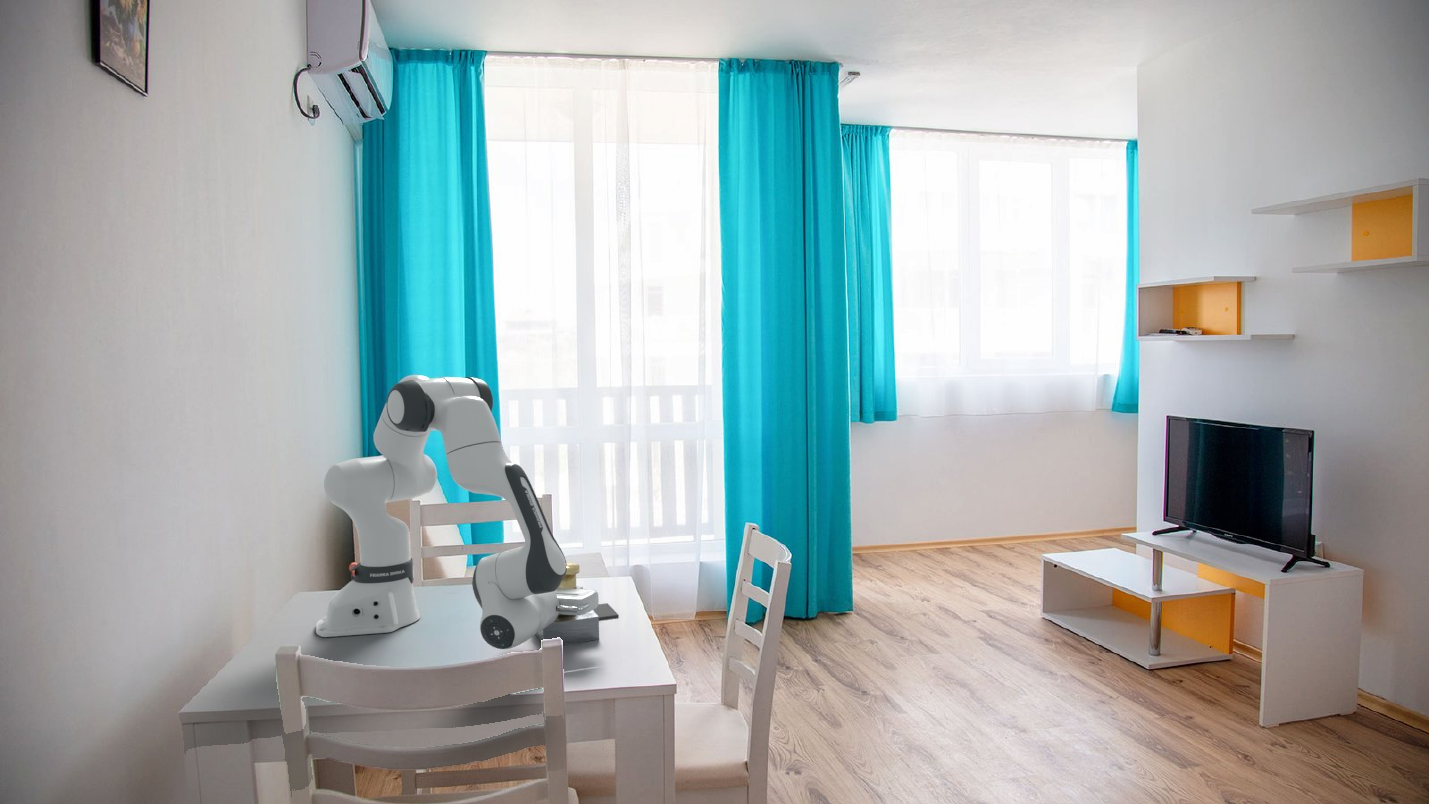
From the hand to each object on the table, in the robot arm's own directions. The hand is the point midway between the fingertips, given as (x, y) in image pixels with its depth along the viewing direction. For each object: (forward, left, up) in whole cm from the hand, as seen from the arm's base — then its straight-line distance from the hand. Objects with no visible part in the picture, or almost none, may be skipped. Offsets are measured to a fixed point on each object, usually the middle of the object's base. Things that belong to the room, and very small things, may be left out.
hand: (566, 588), depth 186 cm
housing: (-1, -1, -10) cm, 10 cm away
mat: (+8, +11, -10) cm, 17 cm away
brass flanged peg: (-1, -1, -8) cm, 8 cm away
